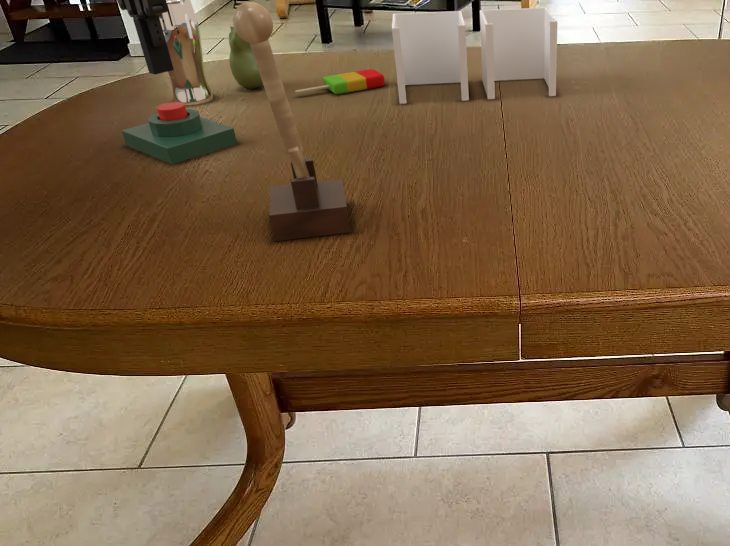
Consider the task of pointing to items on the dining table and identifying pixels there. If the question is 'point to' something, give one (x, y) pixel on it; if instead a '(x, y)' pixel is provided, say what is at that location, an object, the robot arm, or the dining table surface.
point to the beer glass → (185, 53)
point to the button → (172, 111)
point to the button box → (179, 137)
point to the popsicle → (350, 82)
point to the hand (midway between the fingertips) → (161, 71)
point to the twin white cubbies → (498, 48)
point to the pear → (243, 62)
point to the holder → (308, 207)
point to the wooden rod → (270, 76)
